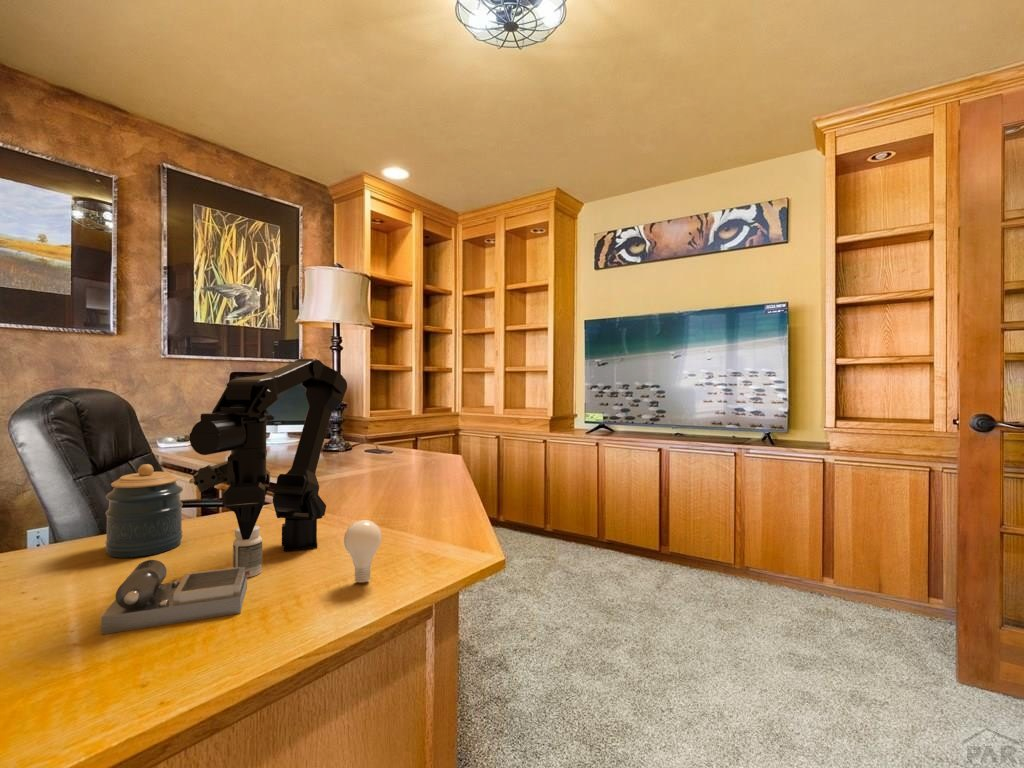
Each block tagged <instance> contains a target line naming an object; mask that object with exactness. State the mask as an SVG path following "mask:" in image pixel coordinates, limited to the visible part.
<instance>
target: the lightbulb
mask: <svg viewBox="0 0 1024 768" xmlns="http://www.w3.org/2000/svg"><path fill="white" fill-rule="evenodd" d="M381 543H382V531H381V528H380V527H379V526H378V525H377V523H376V522H373V521H372V520H369V519H359V520H357V521H355V522H353V523H352V524H351V525H350V526H348V527H347V530H346V531H345V533H344V535H343V544H344V547H345V550H346V551H347V553H348V554H349V556H350V557H351V559H352V564H353V567H354V581H355V582H357V583H358V584H361V583H363V584H365V583H367V582H368V581H371V566H372V564H373V560H374V556H375V554H376V552H378V550H379V548H380V546H381Z"/></svg>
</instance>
